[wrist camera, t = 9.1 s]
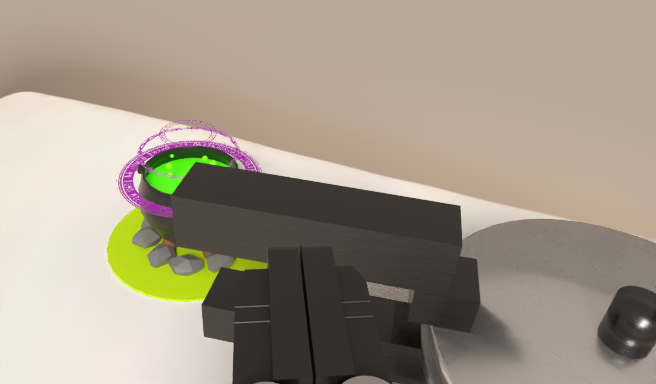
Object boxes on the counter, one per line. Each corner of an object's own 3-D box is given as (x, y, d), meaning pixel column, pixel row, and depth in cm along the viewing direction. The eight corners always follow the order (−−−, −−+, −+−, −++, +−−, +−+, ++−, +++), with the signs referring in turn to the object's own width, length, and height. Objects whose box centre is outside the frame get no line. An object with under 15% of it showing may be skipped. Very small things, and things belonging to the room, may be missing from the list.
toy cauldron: (292, 203, 54) (297, 103, 48) (261, 314, 42) (263, 200, 35) (146, 184, 55) (132, 83, 48) (74, 288, 42) (43, 172, 36)
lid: (730, 261, 33) (787, 179, 30) (973, 628, 18) (1150, 549, 15) (244, 179, 36) (243, 96, 33) (101, 435, 21) (71, 330, 18)
